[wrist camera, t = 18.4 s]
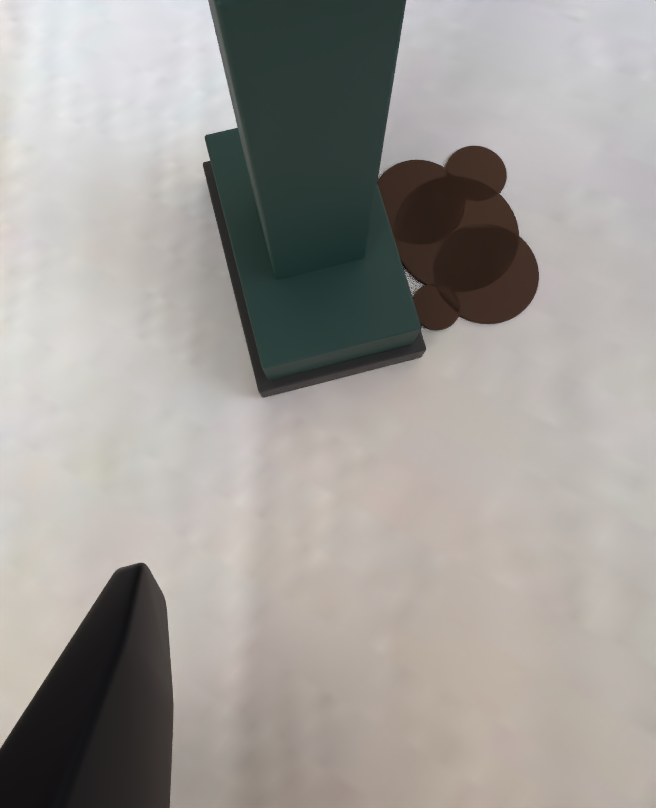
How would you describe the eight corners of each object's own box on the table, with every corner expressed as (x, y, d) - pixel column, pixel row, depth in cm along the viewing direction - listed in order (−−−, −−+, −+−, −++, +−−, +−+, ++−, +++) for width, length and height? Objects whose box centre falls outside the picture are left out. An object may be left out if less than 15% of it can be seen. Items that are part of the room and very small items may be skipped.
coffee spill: (554, 308, 21) (555, 307, 21) (414, 345, 20) (414, 344, 20) (494, 141, 22) (495, 139, 22) (361, 173, 22) (361, 171, 22)
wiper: (422, 357, 20) (602, 80, 7) (262, 398, 20) (138, 189, 7) (357, 142, 22) (404, -413, 9) (207, 177, 21) (20, -343, 8)
